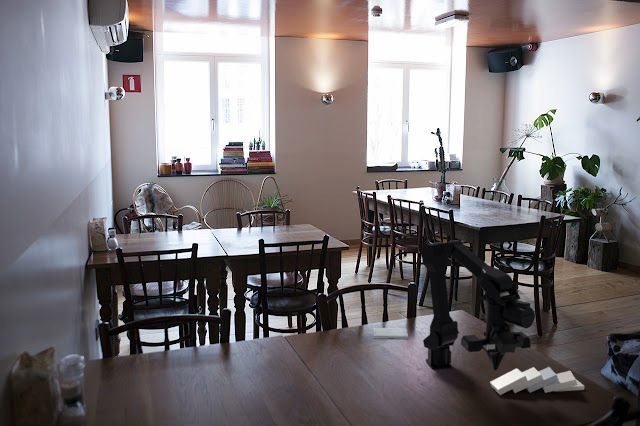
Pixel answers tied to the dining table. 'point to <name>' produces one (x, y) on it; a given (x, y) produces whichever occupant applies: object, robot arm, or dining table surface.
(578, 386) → the domino
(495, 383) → the domino
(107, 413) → the dining table surface
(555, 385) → the domino
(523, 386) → the domino
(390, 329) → the hard drive
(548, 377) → the domino
